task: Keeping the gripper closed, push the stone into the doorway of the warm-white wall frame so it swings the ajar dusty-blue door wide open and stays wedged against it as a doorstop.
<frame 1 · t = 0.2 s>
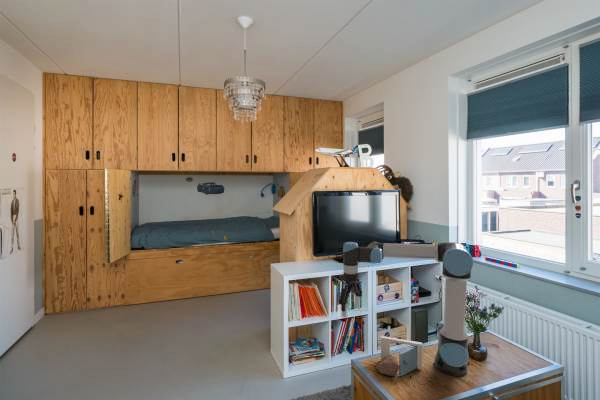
hand: (351, 312, 161), 27 cm above the table, fingers open, 13 cm apart
stone: (387, 371, 154), on the table
wall frame: (399, 364, 160), on the table
door: (410, 361, 152), point 6 cm above the table, hinge at 55.0°
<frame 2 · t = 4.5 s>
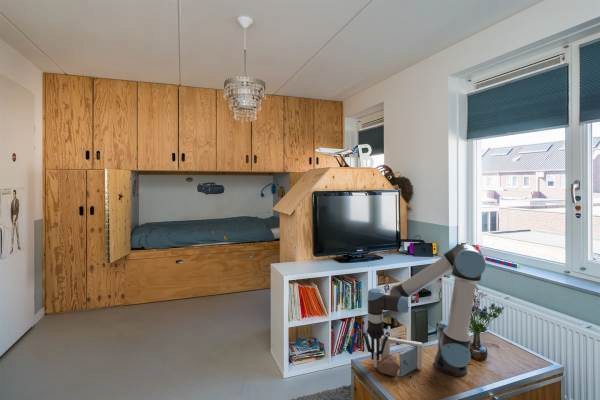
hand: (375, 365, 156), 2 cm above the table, fingers closed
stone: (387, 371, 154), on the table, touching gripper
door: (410, 361, 152), point 6 cm above the table, hinge at 56.0°
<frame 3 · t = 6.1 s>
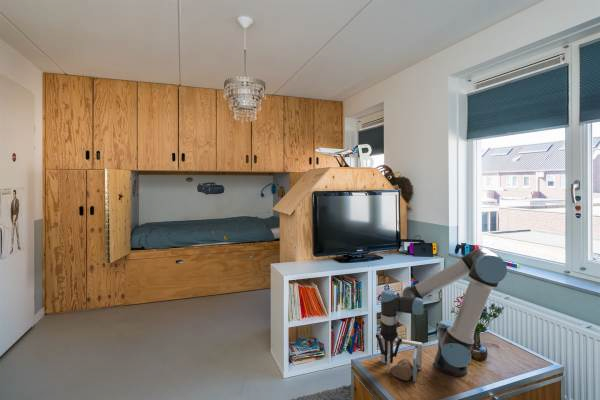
hand: (388, 368, 154), 2 cm above the table, fingers closed
stone: (401, 375, 151), on the table, touching door, gripper
door: (417, 363, 151), point 6 cm above the table, hinge at 87.1°, touching stone
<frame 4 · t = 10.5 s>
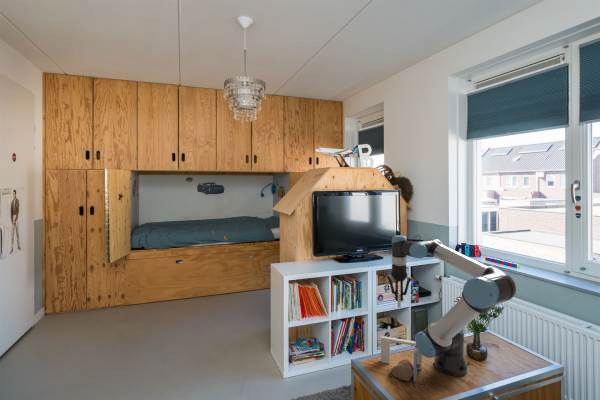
hand: (399, 306, 169), 26 cm above the table, fingers closed
stone: (402, 376, 151), on the table
door: (417, 363, 150), point 6 cm above the table, hinge at 88.4°
at the end: door at +88° (first picture: +55°); stone inside the target area (1.0 cm from its centre), on the table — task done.
